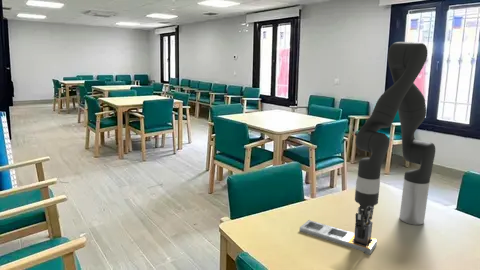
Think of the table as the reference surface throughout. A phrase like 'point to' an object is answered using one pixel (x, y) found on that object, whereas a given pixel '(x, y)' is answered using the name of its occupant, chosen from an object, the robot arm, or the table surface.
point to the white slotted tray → (336, 235)
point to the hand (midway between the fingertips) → (362, 235)
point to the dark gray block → (367, 235)
